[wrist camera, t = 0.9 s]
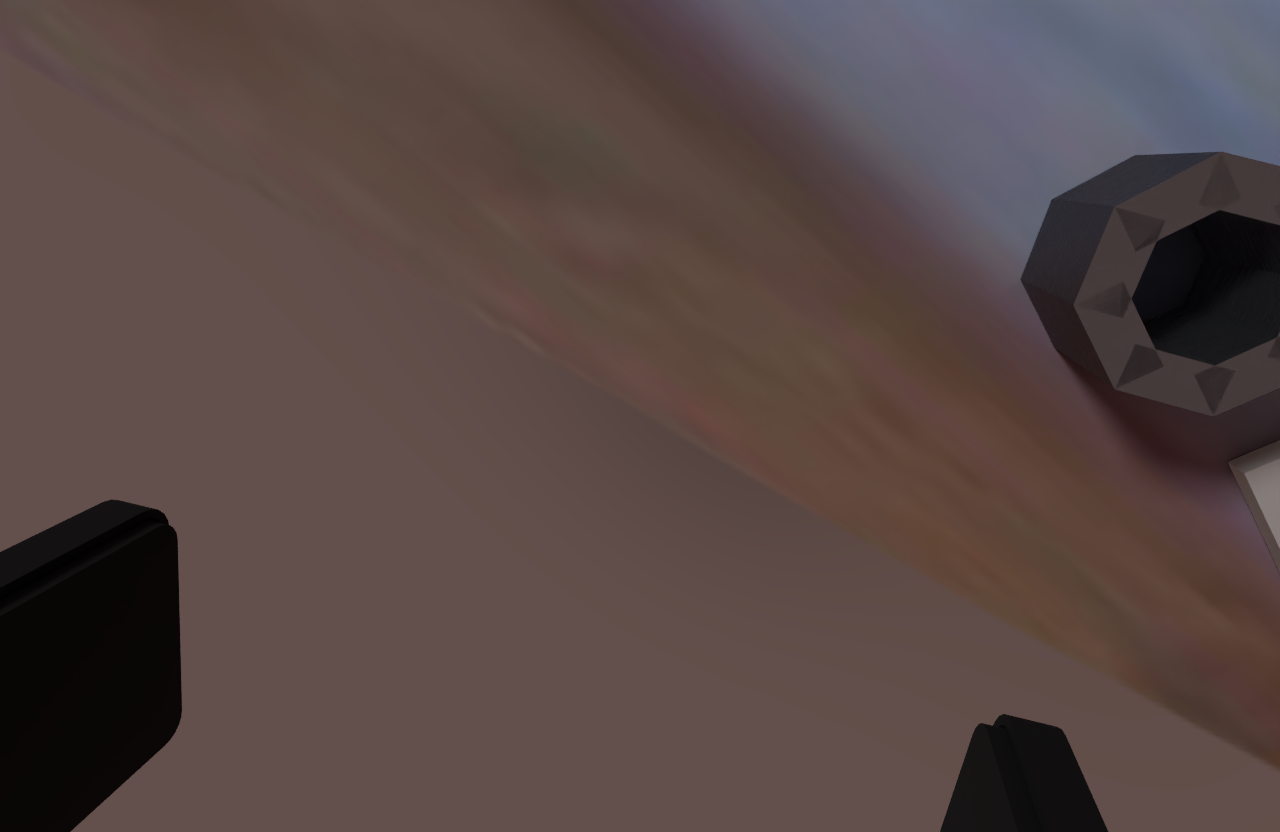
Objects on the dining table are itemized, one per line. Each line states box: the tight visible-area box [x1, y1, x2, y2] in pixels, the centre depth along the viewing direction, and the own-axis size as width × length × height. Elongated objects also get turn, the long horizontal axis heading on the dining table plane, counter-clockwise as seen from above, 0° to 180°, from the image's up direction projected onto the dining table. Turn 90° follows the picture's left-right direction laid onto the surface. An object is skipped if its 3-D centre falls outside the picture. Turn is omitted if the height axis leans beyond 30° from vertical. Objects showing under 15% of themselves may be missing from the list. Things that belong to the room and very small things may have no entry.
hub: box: [1021, 152, 1280, 417], centre depth 26 cm, size 7×7×6 cm
